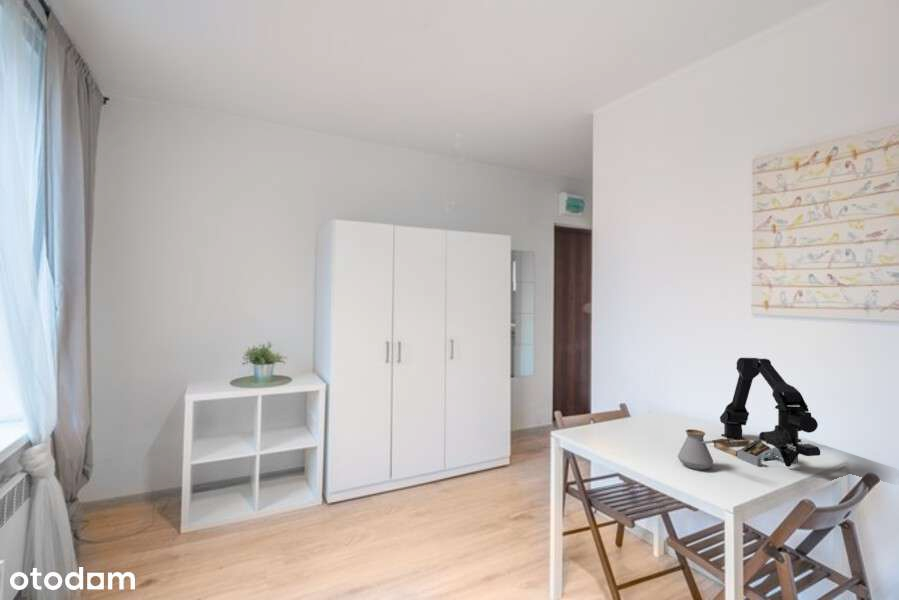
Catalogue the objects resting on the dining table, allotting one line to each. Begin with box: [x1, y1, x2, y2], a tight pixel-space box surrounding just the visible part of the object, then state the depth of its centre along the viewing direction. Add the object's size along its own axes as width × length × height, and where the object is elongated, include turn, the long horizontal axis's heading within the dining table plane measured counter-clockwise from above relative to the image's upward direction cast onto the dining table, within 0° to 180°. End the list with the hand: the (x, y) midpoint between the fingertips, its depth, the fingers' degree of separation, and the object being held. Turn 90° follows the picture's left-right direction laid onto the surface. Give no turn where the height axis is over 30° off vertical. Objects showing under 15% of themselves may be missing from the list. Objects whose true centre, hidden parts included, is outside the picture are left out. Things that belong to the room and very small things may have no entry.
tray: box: [713, 439, 753, 458], centre depth 173 cm, size 11×17×2 cm, turn 100°
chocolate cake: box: [739, 438, 774, 462], centre depth 166 cm, size 10×7×12 cm
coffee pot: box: [677, 428, 738, 471], centre depth 152 cm, size 21×12×15 cm, turn 19°
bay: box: [736, 446, 799, 467], centre depth 163 cm, size 9×18×3 cm, turn 100°
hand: (787, 466), depth 154 cm, fingers closed
